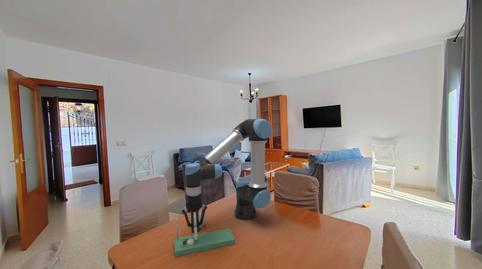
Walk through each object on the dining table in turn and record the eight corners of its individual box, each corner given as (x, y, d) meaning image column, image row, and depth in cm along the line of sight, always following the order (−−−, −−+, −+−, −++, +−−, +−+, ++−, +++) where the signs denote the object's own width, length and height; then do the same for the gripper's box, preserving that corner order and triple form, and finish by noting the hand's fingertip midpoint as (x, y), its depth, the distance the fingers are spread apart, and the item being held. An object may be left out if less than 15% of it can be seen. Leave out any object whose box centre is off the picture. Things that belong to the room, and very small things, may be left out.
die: (198, 233, 121) (208, 217, 124) (185, 225, 123) (195, 209, 125) (201, 231, 130) (210, 216, 132) (189, 223, 131) (198, 208, 133)
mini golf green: (229, 232, 120) (228, 208, 119) (235, 243, 109) (234, 217, 108) (174, 243, 111) (173, 217, 110) (175, 256, 100) (173, 228, 99)
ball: (190, 235, 109) (184, 241, 108) (191, 239, 105) (185, 245, 104) (195, 240, 110) (189, 246, 109) (196, 244, 106) (190, 250, 105)
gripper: (205, 189, 112) (207, 232, 114) (180, 193, 108) (182, 237, 110) (207, 194, 105) (209, 239, 107) (180, 198, 101) (183, 245, 103)
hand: (195, 238), depth 108 cm, fingers closed
